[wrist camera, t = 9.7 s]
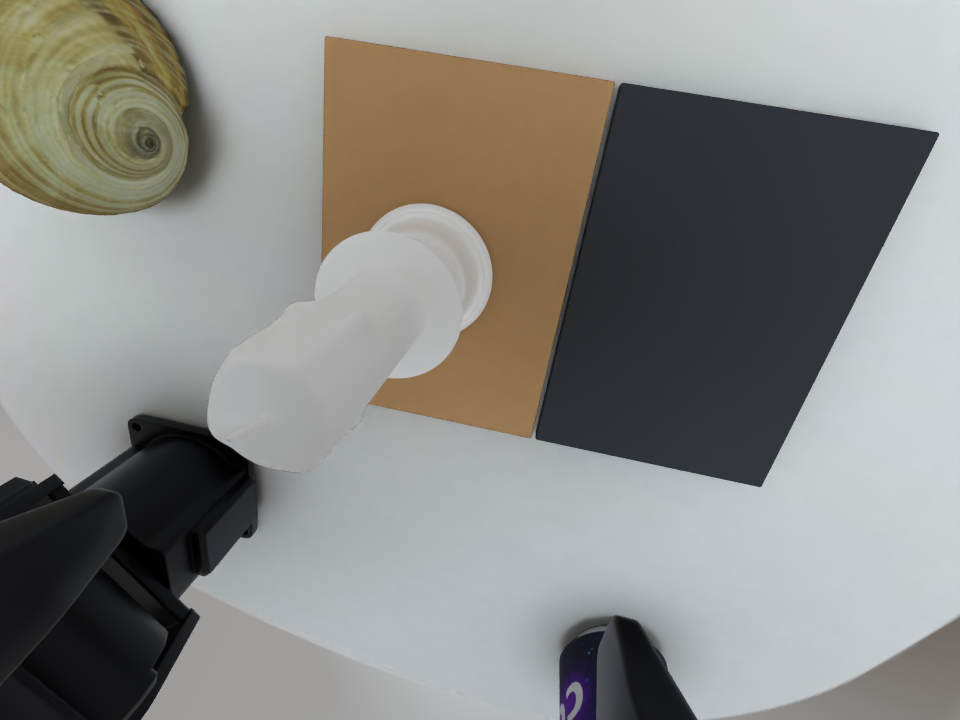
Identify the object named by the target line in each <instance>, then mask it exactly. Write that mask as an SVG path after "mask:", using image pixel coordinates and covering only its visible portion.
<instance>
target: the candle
mask: <svg viewBox="0 0 960 720" xmlns="http://www.w3.org/2000/svg"><path fill="white" fill-rule="evenodd" d="M492 278H493V274H492V264H491V260H490V256H489V253H488V250H487V248H486V245H485V243H484V242H483V240H482V238H481V237H480V235H479V234H478V232H477V231H476V230H475V229H474V228H473V226H472V225H471V224H470V223H469V222H467V221H466V220H465V219H464V218H462V217H461V216H460V215H458V214H457V213H455V212H453V211H451V210H449V209H447V208H444V207H441V206H437V205H433V204H424V203H418V204H409V205H405V206H401V207H399V208H396V209H394V210H392V211H390V212H388V213H387V214H385V215H384V216H383V217H382V218H380V219H379V220H378V221H377V222H376V223H375V225H374V226H373V227H372V228H371V230H370V231H367V232H362V233H359V234H356V235H353V236H351V237H349V238H347V239H345V240H343V241H342V242H340V243H339V244H338V245H337V246H335V247H334V248H333V249H332V250H331V251H330V252H329V254H328V255H327V256H326V258H325V259H324V261H323V262H322V264H321V266H320V268H319V271H318V274H317V277H316V281H315V287H314V301H305V302H295V303H293V304H291V305H289V306H288V307H287V308H286V310H285V311H284V313H283V315H282V316H281V317H280V318H279V319H278V320H276V321H275V322H274V323H272V324H271V325H269V326H267V327H266V328H264V329H262V330H261V331H259V332H258V333H256V334H254V335H253V336H251V337H250V338H248V339H247V340H245V341H244V342H242V343H241V344H239V345H238V346H237V347H235V348H234V349H233V350H232V351H231V352H230V353H229V354H228V355H227V357H226V358H225V360H224V361H223V363H222V365H221V367H220V369H219V372H218V373H217V375H216V377H215V379H214V381H213V383H212V386H211V390H210V396H209V403H208V409H207V423H208V427H209V430H210V432H211V433H212V435H213V436H214V437H215V438H216V439H217V440H219V441H220V442H222V443H224V444H226V445H228V446H230V447H231V448H233V449H234V450H235V451H237V452H238V453H239V454H240V455H242V456H243V457H245V458H246V459H248V460H250V461H252V462H254V463H256V464H258V465H261V466H263V467H267V468H271V469H276V470H282V471H287V472H293V473H301V472H306V471H308V470H310V469H312V468H314V467H315V466H317V465H318V464H319V463H321V462H322V461H323V460H324V459H325V458H326V457H327V456H328V455H329V453H330V452H331V451H332V450H333V449H334V447H335V446H336V445H337V443H338V442H339V441H340V440H341V438H342V437H343V436H344V435H345V434H347V433H348V432H350V431H351V430H353V429H354V428H355V427H356V426H357V425H358V424H359V423H360V422H361V419H362V417H363V414H364V411H365V408H366V406H367V405H368V403H369V402H370V401H371V399H372V398H373V397H374V395H375V394H376V393H377V391H378V390H379V389H380V387H381V386H382V385H383V383H384V382H385V381H386V379H387V378H409V377H414V376H418V375H421V374H423V373H426V372H428V371H430V370H432V369H433V368H435V367H436V366H438V365H439V364H440V363H441V362H442V361H443V360H444V359H445V358H446V357H447V356H448V355H449V354H450V352H451V351H452V349H453V348H454V346H455V344H456V342H457V340H458V337H459V334H460V331H462V330H463V329H465V328H466V327H468V326H469V325H470V324H472V323H473V322H474V321H475V320H476V319H477V318H478V316H479V315H480V314H481V312H482V311H483V309H484V308H485V306H486V304H487V301H488V299H489V296H490V292H491V288H492Z"/></svg>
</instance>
